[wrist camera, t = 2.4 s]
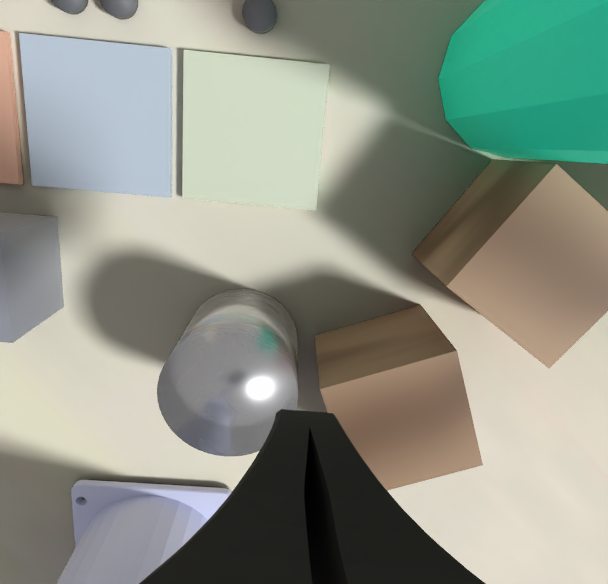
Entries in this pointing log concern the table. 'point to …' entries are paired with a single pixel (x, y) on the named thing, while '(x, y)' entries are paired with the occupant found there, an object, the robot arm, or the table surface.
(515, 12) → the candle
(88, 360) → the table surface
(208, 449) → the grey tin
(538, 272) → the walnut block
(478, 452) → the walnut block
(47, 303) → the marker cube
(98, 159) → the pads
